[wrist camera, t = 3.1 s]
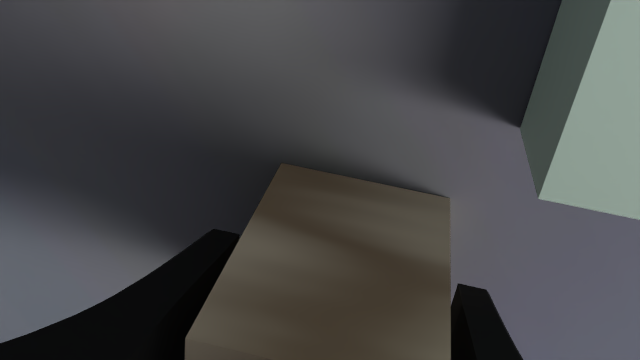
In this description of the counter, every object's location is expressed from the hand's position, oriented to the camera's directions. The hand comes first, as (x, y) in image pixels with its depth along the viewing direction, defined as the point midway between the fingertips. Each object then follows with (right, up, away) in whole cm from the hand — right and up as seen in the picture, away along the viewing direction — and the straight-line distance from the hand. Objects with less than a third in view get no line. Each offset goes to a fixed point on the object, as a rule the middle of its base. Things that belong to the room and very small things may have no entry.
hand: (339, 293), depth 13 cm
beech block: (0, +1, +2) cm, 2 cm away
